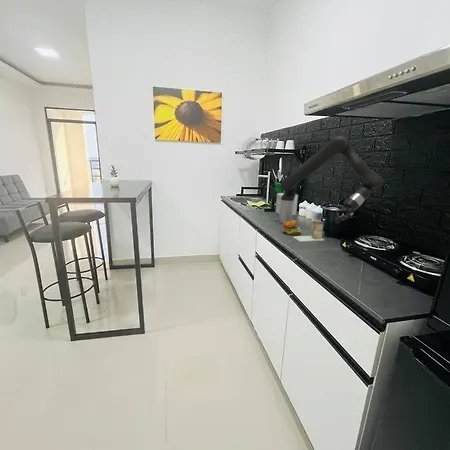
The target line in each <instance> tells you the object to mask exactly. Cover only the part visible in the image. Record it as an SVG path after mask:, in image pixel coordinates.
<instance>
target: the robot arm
mask: <svg viewBox="0 0 450 450" xmlns="http://www.w3.org/2000/svg"><path fill="white" fill-rule="evenodd" d="M339 153H340V154H341V155H342V156H343V157H344V158H345V159H346V161H347V162H348V164H349V165H350V168H352V170H353V171H354V173H355V174H356V175H357V176H359V178H360V179H365V181H364V182H363V183H362V184H361V186H360V187H359V188H358V189H357V190H356V191H355V192H354V193H353V194H352V195H351V196H350V197H349V198H347V199H346V201H344V203H343V206H341V207H342V209H344V208H345V209H344V210H347V212H346V213H345V214H346V215H344V213H342V215H341V216H339V217H338V218H337V219H336V220H335V221H334V223H335V224H336V225H339V224H340V223H341V222H342V221H346V220H347V221H348V219H350V218H352V217H353V216H354V215H355V214H354V212H355V211H356V210H357V209H359V207H360V206H361V205H362V204H363V203H364V202H365V201H366V200H367V199H368V198H369V197H370V195H371V192H373V191H374V190H376V189H378V188H380V187H382V186H383V182H384V181H383V178H382V177H381V176H380V174H378V173H377V172H375V171H374V170H372V169H371V168H370V167H369V166H368V165H367V164H366V162H365V161H364V160H363V159H362V158H361V157H360V156H359V155H358V154H357V152H356V151H355V150H354V148H353V147H352V145H351V143H350V142H349V140H348V138H347V137H346V136H344V135H338V136H335V137H334V138H332V140H330V142H329V143H327V145H326V146H325V147H323V149H321V150H320V151H319V152H317V153H316V154H315V153H314V155H312V156H311V157H310V158H308V159H307V160H306V161H305V162H303V164H301V165H300V166H299V167H298V168H297V169H295V171H293V172H292V173H291V174H289V175H288V176H286V177H284V178H283V179H282V180H281V181H280V184H279V185H280V190H282V191H284V192H283V193H284V194H283V195H282V197H281V208H280V210H279V214H278V222H279V223H280V224H284V222H287V221H292V220H293V216H294V215H293V205H294V198H295V195H297V188H298V183H299V182H300V181H302V180H303V179H306V178H308V177H309V176H311V175H313V174H315V172H317V171H318V170H319V169H321V168H322V167H323V166H324V165H325V164H326V163H327V162H328V161H329V160H330V159H331V158H333V157H334V156H336V155H337V154H339ZM352 211H353V212H352Z"/></svg>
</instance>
